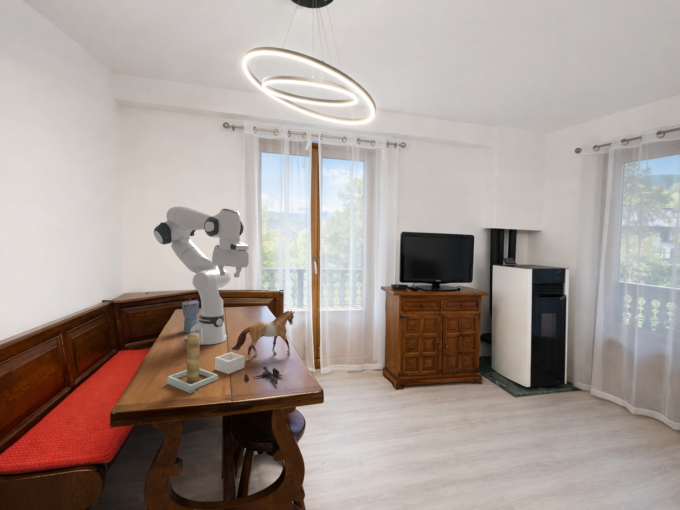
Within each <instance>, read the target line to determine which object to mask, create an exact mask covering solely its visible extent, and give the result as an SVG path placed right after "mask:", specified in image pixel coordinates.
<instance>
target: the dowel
mask: <svg viewBox="0 0 680 510" xmlns="http://www.w3.org/2000/svg"><path fill="white" fill-rule="evenodd" d="M199 336H200V334H198V333H192V334H190V333H187V335H186V337H187V340H186V370H187V375H186V383H189V384H193V383H196V382H199V381H200V374H199V368H200V345H199Z"/></svg>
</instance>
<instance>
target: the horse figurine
mask: <svg viewBox="0 0 680 510" xmlns="http://www.w3.org/2000/svg"><path fill="white" fill-rule="evenodd" d="M294 313H295V311H293V310H287V311H284V312H282V313H281V314H280V315H279V316H278V317H276V318H275V319H274V320H273V321H270V322H263V321H257V322H255V323H253V324H251V326H248V327H246V328H245V329H243V330H242V331H241V332H240V333H239V335H238V338H237V339H236V344H235V346H233V347H231V348H230V349H231V350H232V351H236V352H237V351H239V350H240V349H241V348H242V346H243V345H244V344H245V342H246V340H247V335H248V333H249V335H250V338H251V342H250V344H249V346H248V350H247V355H246V358H247V361H251V360H252V359H251V357H250V355H251V352H252V349H253V353H254V354H253V355H254V356H255V357H258V351H257V349H256V347H255V346H256V344H257V342H258V341H259V340H260V338H262V337H267V338H271V337H272V338H273V343H272V350H271V351H272V353H273V355H274V356H276V355H278V353H277V351H275V347H276V344H277V338H278V337H280V338H281V339H282V340H283V341H284V343H285V344H286V346H287V350H286V353H287V354H288V355H290V353H291V352H290V351H291V348H290V343H289V340H288V337H287V335H286V334H287V332H288V331H287V327H286V325H287V322H288V323H289V325H290V326H292V325H293V324H294V322H293V320H294V317H295V316H294Z"/></svg>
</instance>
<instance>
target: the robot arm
mask: <svg viewBox="0 0 680 510" xmlns="http://www.w3.org/2000/svg"><path fill="white" fill-rule="evenodd" d="M165 216H166V221H164V222H160V224H157V225H156V226H155V228H153V235H154V237H155V239H156V241H157V242H158V243H159V244H161V245H168V244H171V245H170V247H171V249H172V250H173V252H174V254H175V256H176V257H177V258H178V259H179V260H180V261H181V262H182V263H183V265H184V266H186V268H187V269H188V270H189V271H190V272H192V273H194V275H193V278H192V285H193V287H194V289H195V290H196V291H197V292H198V295H199V297H200V309H201V312H200V315H199V316H198V317H197V318H198V323H197V324H196V325H194V326H193V327H192V328H191V332H190V333H189V334H192V333H198V334H200V336H199V346H200V345H217V344H220V343H224V342H225V341H226V340H227V336H228V335H227V334H226V325H225V322H224V321H225V314H224V300H223V298H222V297H221V296H220V292H219V291H220V290H219V289H221V288H224V287H225V286H227V285H228V284H229V283H230V282H231V273H230V271H229V270H227V269H225V267H229V268H230V267H231V268H235V270H236V271H235V272H234V273H233V277H234V278H240V273H241V272H242V268H248V267H249V264H250V263H249V262H250V260H249V258H250V257H249V256H250V255H249V252H248V250H249V245H248V244H246V243H244V242H242V241H241V237H240V236H242V234H243V232H244V229H245V228H244V224H243V222H242V220H241V216H240V212H239V211H238V210H236V209H231V208H222V209H220V212H218V213H217V214H215V215H209V214H207V213H205V212H201V211H200V210H199V211H198V210H196V209H193V208H190V207H186V206H173V207H170V208H169V209H168V210H167V211H166V215H165ZM201 230H204V232H205V234H206V235H207V236H208V237H211V238H216V239H217V238H219V244H216V245H215V246H214V247H213V250H212V256H211V257H212V258H211V259H210V258H208V257H207V256H206V254H205V253H204V252H202V250H201V249H200V248H199V247H198V246H197V245H196V244H195V243H194V242H193V241H192V239H191V237H194V236H195V232H196V231H201ZM185 340H186V341H187V336H185Z"/></svg>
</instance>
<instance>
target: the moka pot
mask: <svg viewBox="0 0 680 510" xmlns="http://www.w3.org/2000/svg"><path fill="white" fill-rule="evenodd" d="M181 307H182V308H181V309H182V313H183V317H184V318H183V319H184V321H183V323H184V324H183V333H185V334H190V332H191V328H192V327H193V326H194V325H196V324H197V323H198V322H199V318H198V317H199V313H200V312H199V311H200V308H201V300H199V298H197V299H195V300H192V297H189V298H188V300H186V301H183V302H181Z"/></svg>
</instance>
